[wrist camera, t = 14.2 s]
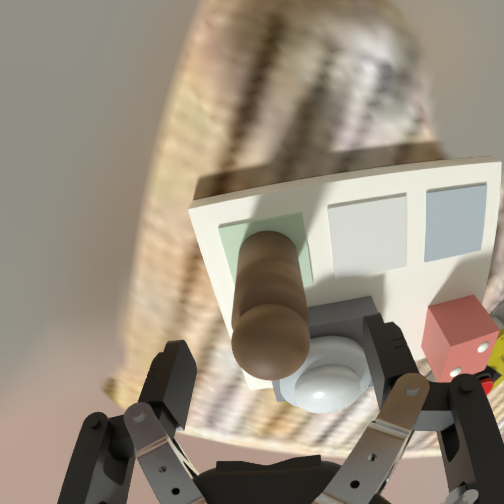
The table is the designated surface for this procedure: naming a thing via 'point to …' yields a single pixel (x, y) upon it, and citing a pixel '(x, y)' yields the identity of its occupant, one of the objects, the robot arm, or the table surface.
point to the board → (364, 242)
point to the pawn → (269, 308)
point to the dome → (328, 376)
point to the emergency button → (491, 357)
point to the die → (458, 337)
